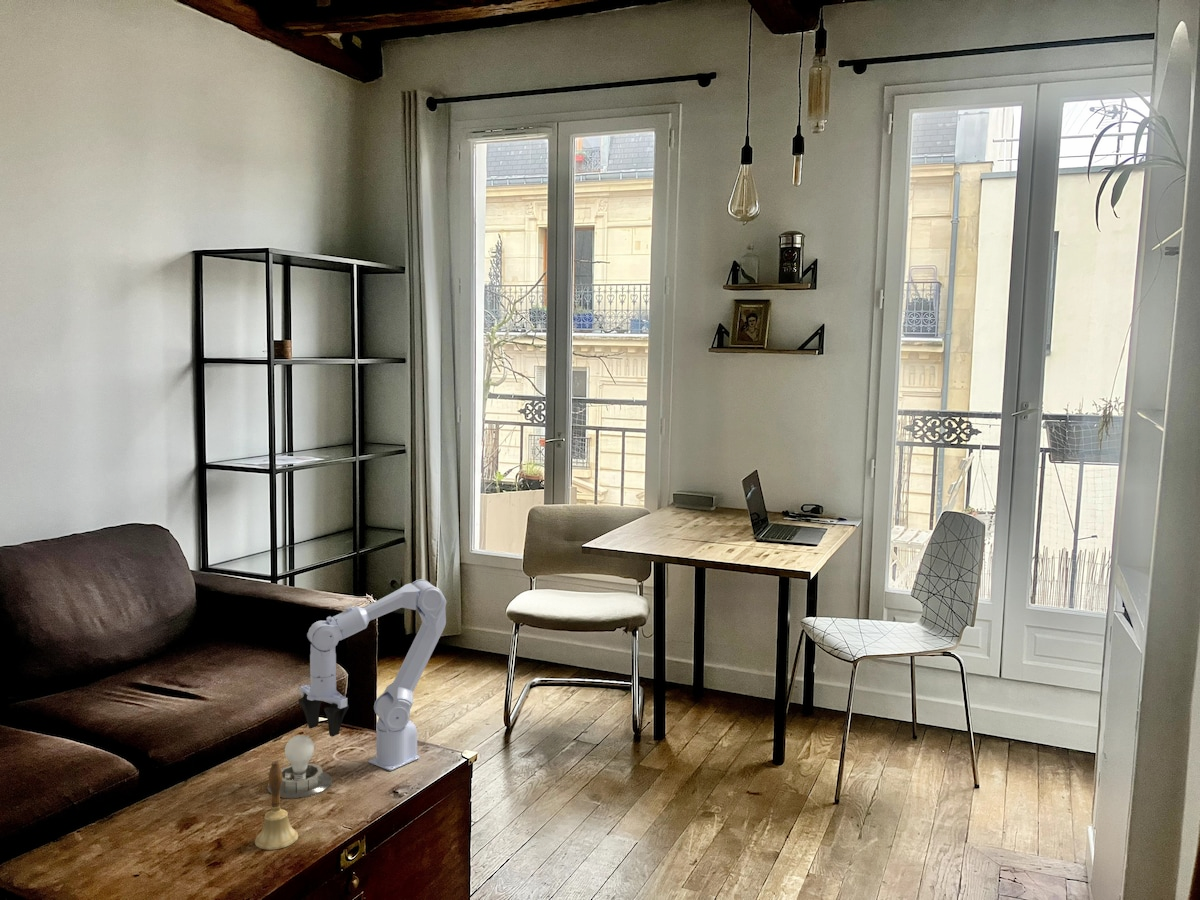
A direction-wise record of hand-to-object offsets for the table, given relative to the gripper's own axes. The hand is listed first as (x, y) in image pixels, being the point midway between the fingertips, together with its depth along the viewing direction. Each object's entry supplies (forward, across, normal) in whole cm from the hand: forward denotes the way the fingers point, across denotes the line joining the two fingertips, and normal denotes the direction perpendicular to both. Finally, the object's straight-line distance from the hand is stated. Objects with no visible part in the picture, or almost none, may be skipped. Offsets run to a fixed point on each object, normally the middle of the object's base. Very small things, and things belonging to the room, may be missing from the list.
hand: (323, 731), depth 216 cm
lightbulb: (+10, 0, -7) cm, 12 cm away
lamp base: (+10, 0, -7) cm, 12 cm away
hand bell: (+11, +17, -25) cm, 32 cm away
